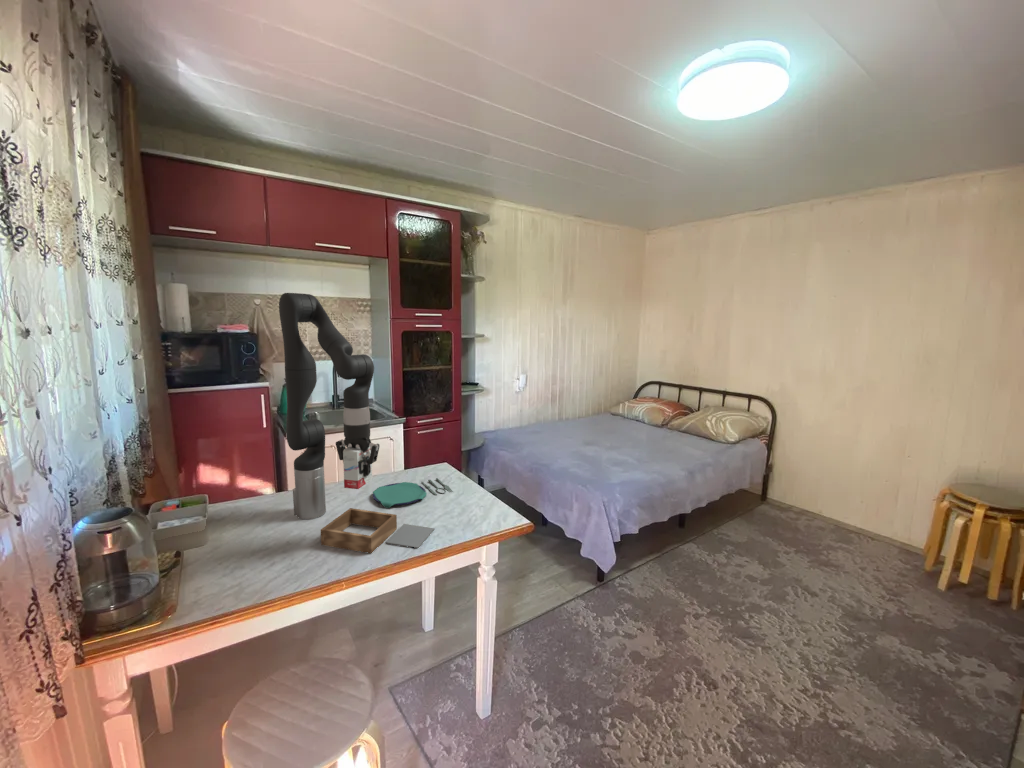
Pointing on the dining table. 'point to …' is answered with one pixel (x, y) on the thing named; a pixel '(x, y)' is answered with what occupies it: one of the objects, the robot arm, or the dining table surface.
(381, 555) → the dining table surface
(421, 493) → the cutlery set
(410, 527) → the rubber mat
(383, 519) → the wooden tray
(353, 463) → the ink box
